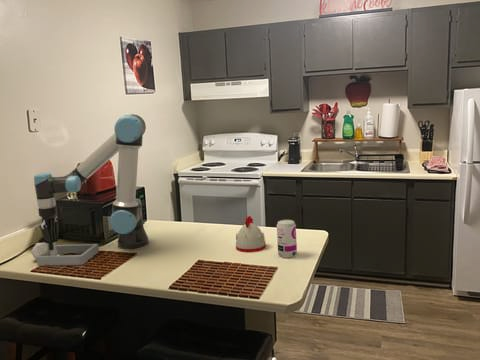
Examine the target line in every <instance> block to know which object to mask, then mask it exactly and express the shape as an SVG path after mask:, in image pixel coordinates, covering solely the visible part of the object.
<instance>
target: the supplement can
mask: <svg viewBox="0 0 480 360" xmlns="http://www.w3.org/2000/svg"><path fill="white" fill-rule="evenodd" d="M276 236H277V237H276V239H277V255H278V256H279V257H280V258H283V259H292V258H295V257H296V256H297V255H298V249H297V248H298V246H297V225H296V222H295V221H294V220H292V219H281V220H278V221H277V223H276Z"/></svg>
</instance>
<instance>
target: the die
mask: <svg viewBox="0 0 480 360" xmlns="http://www.w3.org/2000/svg"><path fill="white" fill-rule="evenodd" d="M30 254H31V255H32V256H33V258H34V260H35V261H36V262H37V257H38V256H50V251H49V244H48V243H47V244H46V243H45V242H37V243H35V245H34V246H33V248H32V249H31V250H30Z"/></svg>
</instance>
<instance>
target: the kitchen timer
mask: <svg viewBox="0 0 480 360" xmlns="http://www.w3.org/2000/svg"><path fill="white" fill-rule="evenodd" d="M265 239H266V238H265V234H264V232H262V229H261V228H259V226H258V225H257V224H255V223H254V219H253V217H252V216H251V215H248V216H247V218H245V221H244V224H243V225H242V226H241V228H239V231H238V232H237V233H236V234H235V250H236V251H239V252H241V253H257V252H261V251H263V250H265V249H266V247H267V246H266V245H267V244H266V240H265Z"/></svg>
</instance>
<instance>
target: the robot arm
mask: <svg viewBox="0 0 480 360" xmlns="http://www.w3.org/2000/svg"><path fill="white" fill-rule="evenodd" d="M113 128H114V133H113V134H112V135H111V136H110V137H109V138H108V139H106V141H104V142H103V143H102V144H101V145H100V146H99V147H98V148H97V149H95V150H94V152H92V153H91V154H90V155H89V156H88V157H86V158H85V160H83V161H82V162H81V163H80V164H78V166H77V167H75V168H74V169H73V170H72V171H71V172H69V173H68V174H66V175H63V176H53V175H52V173H51V172H42V173H41V172H40V173H36V174H35V175H34V177H33V181H34V183H33V184H34V189H35V190H34V191H35V194H36V202H37V207H38V209H37V211H38V216H39V217H41V224H40V225H39V228H40V231H41V235H42V237H43V241H44V243H46V244H47V243H48V244H49V251H50V256H58V254H57V249H56V245H57V244H56V242H58V239H59V218H58V217H56V216H55V215H57V212H58V211H57V207H56V197H55V194H68V193H70V194H74V193H76V192H78V193H79V191H80V190H81V188H82V185H84V183H85V182H86V181H87V180H88V179H89V178H90V177H91V176H93V175H94V174H95V173H96V172H97V171H98V170H99V169H101V168H102V167H103V166H104V165H105V164H106V163H107V162H109V160H111V159H112V158H113V157H114V156H115V155H116V154H118V160H117V181H116V199H115V200H114V201H113V202H112V206H111V207H112V209H111V212H112V213H111V216H110V218H109V225H110V227H111V228H110V229H112V230H113V231H114V232H115V233H116V234H118V236H117V237H118V238H117V247H118V248H120V249H125V250H128V249H137V248H141V247H144V246H146V245H148V244H149V241H150V240H149V237H148V234H147V232H146V230H145V228H144V219H143V217H144V216H143V210H142V205H143V204H142V202H141V199H140V198H136V196H137V179H138V177H137V176H138V161H139V149H140V148H141V147H142V146H143V139H144V138H143V136H144V134H145V132H146V129H147V126H146V121H145V120H144V119H143V118H142V117H141V116H140V115H138V114H134V113H133V114H132V113H131V114H124V115H123V116H122V115H121V116H120V117H119V118H118V119H117V120H116V121H115V124H114V127H113Z"/></svg>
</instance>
